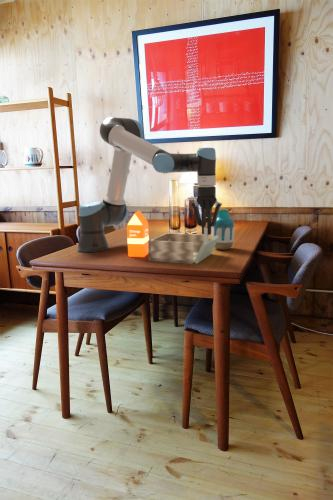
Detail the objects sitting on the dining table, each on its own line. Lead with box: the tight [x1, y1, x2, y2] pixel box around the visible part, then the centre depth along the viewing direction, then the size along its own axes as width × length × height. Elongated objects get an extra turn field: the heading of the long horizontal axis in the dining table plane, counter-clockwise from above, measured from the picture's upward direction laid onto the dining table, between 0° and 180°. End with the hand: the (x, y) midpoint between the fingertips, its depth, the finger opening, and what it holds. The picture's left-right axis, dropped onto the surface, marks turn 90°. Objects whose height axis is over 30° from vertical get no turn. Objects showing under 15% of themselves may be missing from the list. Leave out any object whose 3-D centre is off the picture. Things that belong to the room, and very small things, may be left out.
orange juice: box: [126, 210, 150, 258], centre depth 177 cm, size 8×9×20 cm
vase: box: [211, 208, 235, 251], centre depth 183 cm, size 11×11×19 cm
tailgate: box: [193, 235, 219, 265], centre depth 165 cm, size 2×19×9 cm, turn 156°
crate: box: [148, 232, 204, 265], centre depth 170 cm, size 20×20×9 cm
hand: (206, 242), depth 164 cm, fingers closed
